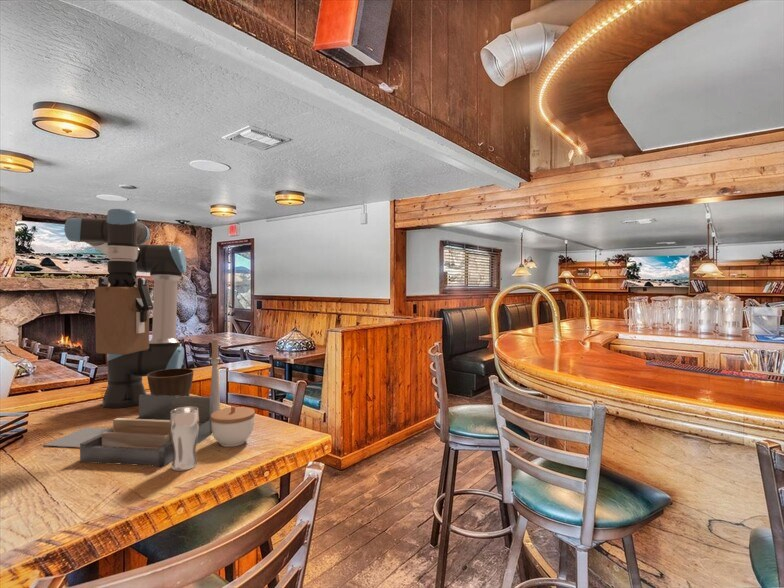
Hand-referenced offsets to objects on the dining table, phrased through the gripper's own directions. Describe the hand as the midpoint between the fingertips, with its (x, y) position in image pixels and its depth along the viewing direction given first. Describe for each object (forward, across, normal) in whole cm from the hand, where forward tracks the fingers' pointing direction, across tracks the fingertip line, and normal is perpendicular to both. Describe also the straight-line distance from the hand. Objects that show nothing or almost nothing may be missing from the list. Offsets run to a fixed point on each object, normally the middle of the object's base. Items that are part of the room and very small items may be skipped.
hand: (123, 332), depth 125 cm
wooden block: (+6, 0, 0) cm, 6 cm away
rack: (+33, +13, -5) cm, 36 cm away
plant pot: (+34, +1, +22) cm, 40 cm away
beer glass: (+33, +29, -17) cm, 47 cm away
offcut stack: (+33, +12, -12) cm, 37 cm away
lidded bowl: (+33, +35, 0) cm, 48 cm away
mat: (+33, -11, 0) cm, 35 cm away
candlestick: (+34, +21, +16) cm, 43 cm away
